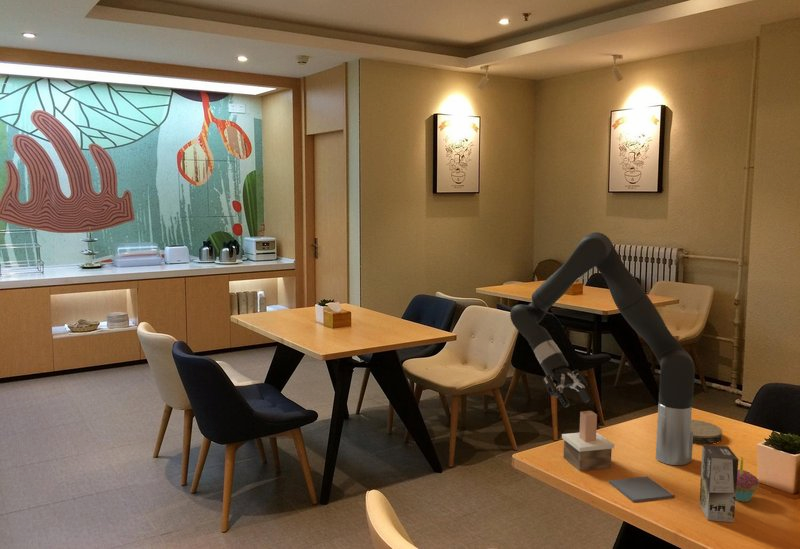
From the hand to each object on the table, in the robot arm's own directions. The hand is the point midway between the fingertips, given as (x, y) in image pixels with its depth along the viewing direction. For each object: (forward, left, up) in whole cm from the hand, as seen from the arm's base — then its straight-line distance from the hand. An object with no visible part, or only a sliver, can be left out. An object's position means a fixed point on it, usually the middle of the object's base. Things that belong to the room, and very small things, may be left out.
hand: (577, 403), depth 202 cm
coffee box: (-17, +40, -17) cm, 47 cm away
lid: (-1, +4, -12) cm, 13 cm away
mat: (-6, +24, -17) cm, 30 cm away
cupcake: (-29, +34, -17) cm, 48 cm away
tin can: (-47, -8, -17) cm, 51 cm away
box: (-1, +4, -17) cm, 17 cm away
